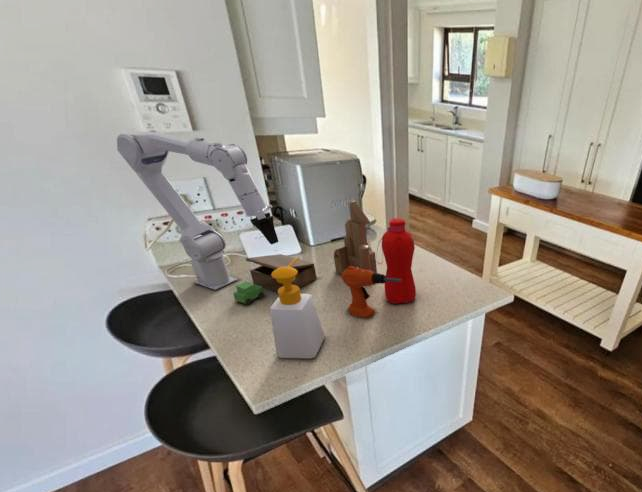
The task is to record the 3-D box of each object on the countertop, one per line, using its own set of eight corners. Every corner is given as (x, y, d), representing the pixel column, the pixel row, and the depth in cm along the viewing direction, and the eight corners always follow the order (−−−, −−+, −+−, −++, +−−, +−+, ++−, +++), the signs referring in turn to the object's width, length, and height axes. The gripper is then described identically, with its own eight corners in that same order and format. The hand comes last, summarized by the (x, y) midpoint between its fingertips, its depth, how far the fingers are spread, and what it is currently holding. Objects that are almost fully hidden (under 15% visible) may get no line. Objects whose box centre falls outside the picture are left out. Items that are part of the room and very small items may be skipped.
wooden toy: (334, 272, 127) (323, 200, 113) (349, 266, 132) (340, 195, 118) (367, 285, 120) (359, 210, 107) (381, 278, 125) (375, 205, 111)
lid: (281, 271, 108) (281, 268, 108) (246, 260, 113) (246, 258, 113) (314, 265, 120) (314, 263, 120) (281, 256, 125) (281, 254, 124)
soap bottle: (331, 327, 100) (318, 252, 87) (315, 360, 88) (298, 278, 76) (295, 326, 99) (277, 250, 87) (275, 359, 88) (251, 277, 75)
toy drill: (403, 324, 100) (395, 274, 93) (346, 316, 106) (333, 269, 99) (411, 315, 104) (403, 266, 96) (355, 308, 110) (344, 262, 102)
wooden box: (287, 295, 113) (284, 281, 110) (253, 283, 118) (249, 270, 115) (316, 278, 123) (314, 265, 120) (284, 269, 127) (281, 256, 125)
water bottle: (378, 291, 117) (372, 215, 104) (412, 289, 120) (411, 213, 106) (381, 306, 110) (374, 226, 96) (417, 303, 112) (416, 224, 99)
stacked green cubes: (246, 306, 107) (241, 291, 104) (236, 302, 108) (231, 287, 105) (265, 296, 112) (261, 281, 109) (255, 292, 113) (251, 278, 110)
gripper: (265, 189, 94) (290, 239, 100) (261, 188, 105) (284, 233, 112) (236, 198, 91) (264, 249, 98) (236, 196, 103) (260, 241, 109)
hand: (273, 241), depth 105 cm, fingers open, 7 cm apart
